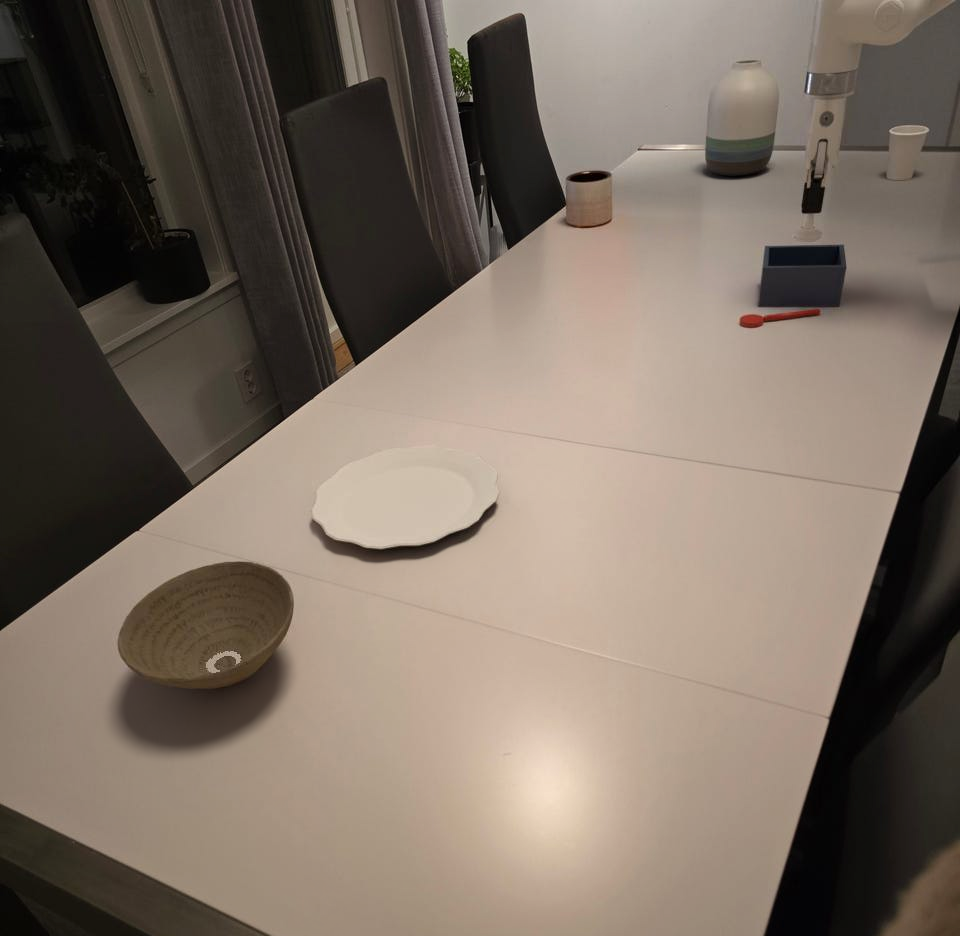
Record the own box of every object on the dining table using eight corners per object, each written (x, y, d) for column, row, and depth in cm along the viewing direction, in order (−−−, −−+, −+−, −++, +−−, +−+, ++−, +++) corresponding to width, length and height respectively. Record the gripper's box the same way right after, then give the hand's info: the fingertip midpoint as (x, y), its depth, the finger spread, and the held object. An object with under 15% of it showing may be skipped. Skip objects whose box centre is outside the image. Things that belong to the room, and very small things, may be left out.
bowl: (111, 725, 86) (78, 670, 81) (187, 611, 99) (164, 557, 94) (277, 737, 82) (254, 680, 77) (333, 617, 96) (317, 561, 90)
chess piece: (792, 233, 148) (801, 170, 142) (822, 233, 147) (832, 169, 140) (790, 242, 145) (799, 178, 139) (820, 242, 144) (831, 177, 137)
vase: (758, 160, 224) (770, 52, 208) (780, 175, 211) (794, 61, 195) (696, 168, 224) (702, 60, 208) (713, 183, 211) (722, 70, 195)
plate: (438, 577, 99) (436, 564, 98) (277, 535, 110) (273, 522, 109) (531, 474, 115) (530, 461, 114) (382, 445, 125) (380, 433, 124)
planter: (561, 228, 197) (560, 183, 190) (572, 214, 204) (571, 170, 198) (607, 227, 193) (607, 182, 187) (616, 213, 201) (616, 169, 194)
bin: (836, 283, 155) (843, 244, 150) (839, 306, 147) (846, 266, 142) (760, 283, 158) (764, 245, 154) (758, 306, 150) (763, 267, 146)
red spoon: (815, 310, 147) (816, 304, 146) (824, 318, 144) (825, 312, 143) (736, 320, 147) (737, 314, 146) (743, 328, 144) (744, 323, 143)
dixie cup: (886, 183, 197) (896, 135, 190) (875, 174, 203) (884, 127, 197) (923, 179, 196) (934, 131, 190) (911, 171, 203) (921, 123, 196)
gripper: (858, 92, 124) (835, 224, 137) (853, 72, 136) (832, 196, 148) (805, 95, 126) (787, 225, 139) (804, 75, 138) (788, 197, 150)
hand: (811, 209), depth 143 cm, fingers closed on chess piece
